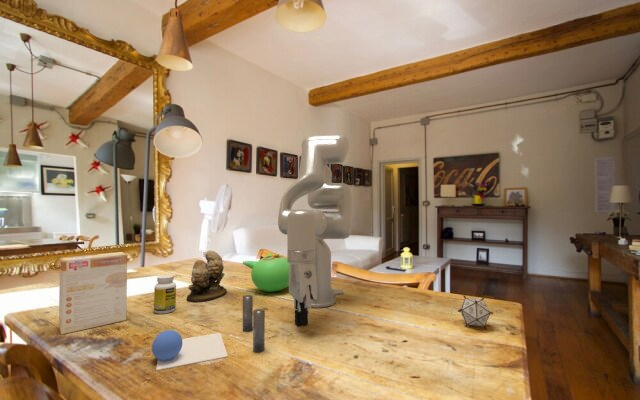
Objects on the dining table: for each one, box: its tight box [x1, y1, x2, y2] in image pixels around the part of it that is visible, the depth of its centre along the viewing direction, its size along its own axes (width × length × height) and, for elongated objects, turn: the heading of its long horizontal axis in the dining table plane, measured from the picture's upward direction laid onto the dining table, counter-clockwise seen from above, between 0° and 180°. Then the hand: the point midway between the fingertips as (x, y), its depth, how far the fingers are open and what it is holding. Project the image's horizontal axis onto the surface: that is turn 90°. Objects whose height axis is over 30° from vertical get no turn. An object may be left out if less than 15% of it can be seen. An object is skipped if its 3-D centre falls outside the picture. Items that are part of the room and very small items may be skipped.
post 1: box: [242, 294, 254, 333], centre depth 84 cm, size 3×3×9 cm
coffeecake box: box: [58, 251, 128, 335], centre depth 88 cm, size 15×7×20 cm, turn 134°
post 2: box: [252, 308, 266, 354], centre depth 72 cm, size 3×3×9 cm
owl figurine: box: [186, 250, 227, 304], centre depth 117 cm, size 18×12×17 cm, turn 166°
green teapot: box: [242, 252, 290, 293], centre depth 124 cm, size 18×17×15 cm
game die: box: [457, 295, 494, 330], centre depth 86 cm, size 9×8×10 cm
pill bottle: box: [153, 274, 177, 315], centre depth 99 cm, size 6×6×11 cm
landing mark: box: [155, 332, 229, 371], centre depth 72 cm, size 14×14×1 cm
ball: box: [151, 329, 183, 361], centre depth 67 cm, size 6×6×6 cm
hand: (301, 325), depth 83 cm, fingers closed
